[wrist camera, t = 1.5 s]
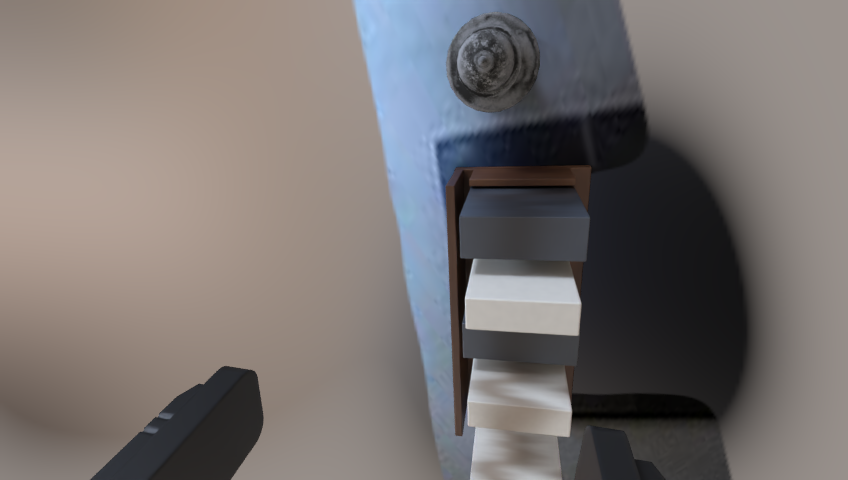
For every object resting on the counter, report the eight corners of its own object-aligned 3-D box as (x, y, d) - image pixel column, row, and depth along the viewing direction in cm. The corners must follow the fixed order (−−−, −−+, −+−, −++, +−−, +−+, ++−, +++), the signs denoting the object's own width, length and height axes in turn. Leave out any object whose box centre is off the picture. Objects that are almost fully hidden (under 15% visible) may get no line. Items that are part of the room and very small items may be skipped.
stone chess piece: (550, 33, 29) (573, 9, 18) (518, 119, 31) (520, 144, 20) (469, 7, 29) (440, -33, 18) (443, 93, 31) (404, 105, 20)
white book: (559, 225, 32) (582, 303, 21) (557, 249, 33) (579, 336, 22) (480, 224, 34) (464, 298, 23) (481, 247, 34) (465, 329, 23)
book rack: (590, 164, 31) (635, 220, 19) (570, 396, 39) (594, 536, 27) (455, 167, 33) (423, 218, 21) (462, 387, 41) (441, 512, 29)
